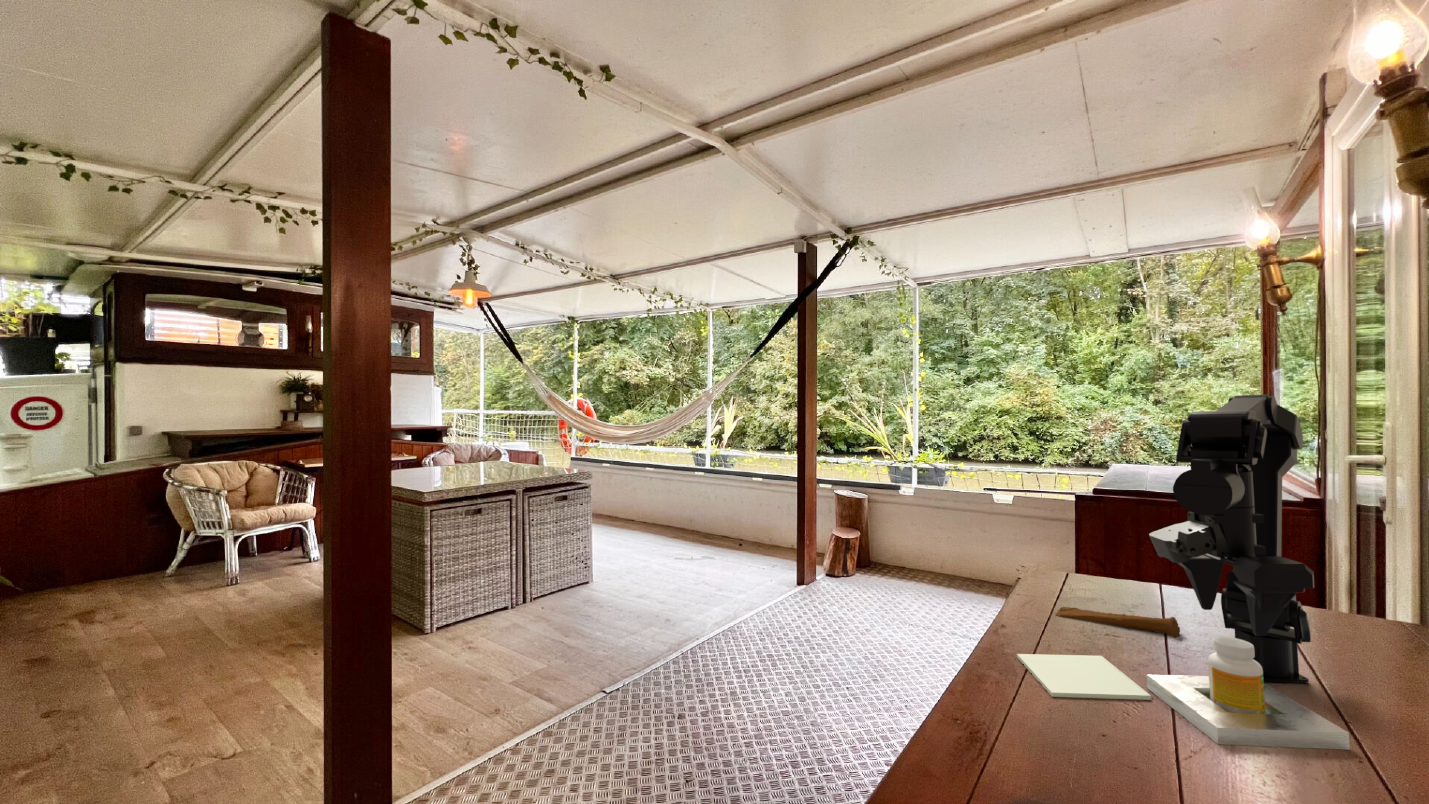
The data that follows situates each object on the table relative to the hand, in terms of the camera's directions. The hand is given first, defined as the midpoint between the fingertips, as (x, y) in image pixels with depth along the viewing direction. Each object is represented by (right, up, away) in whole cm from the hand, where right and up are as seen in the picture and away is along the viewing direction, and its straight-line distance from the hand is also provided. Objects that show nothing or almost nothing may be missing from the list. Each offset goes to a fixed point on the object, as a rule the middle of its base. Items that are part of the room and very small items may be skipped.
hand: (1231, 621), depth 75 cm
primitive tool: (+7, -14, +32) cm, 35 cm away
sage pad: (-13, -13, +12) cm, 22 cm away
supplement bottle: (+1, -13, 0) cm, 13 cm away
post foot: (+1, -12, 0) cm, 12 cm away
